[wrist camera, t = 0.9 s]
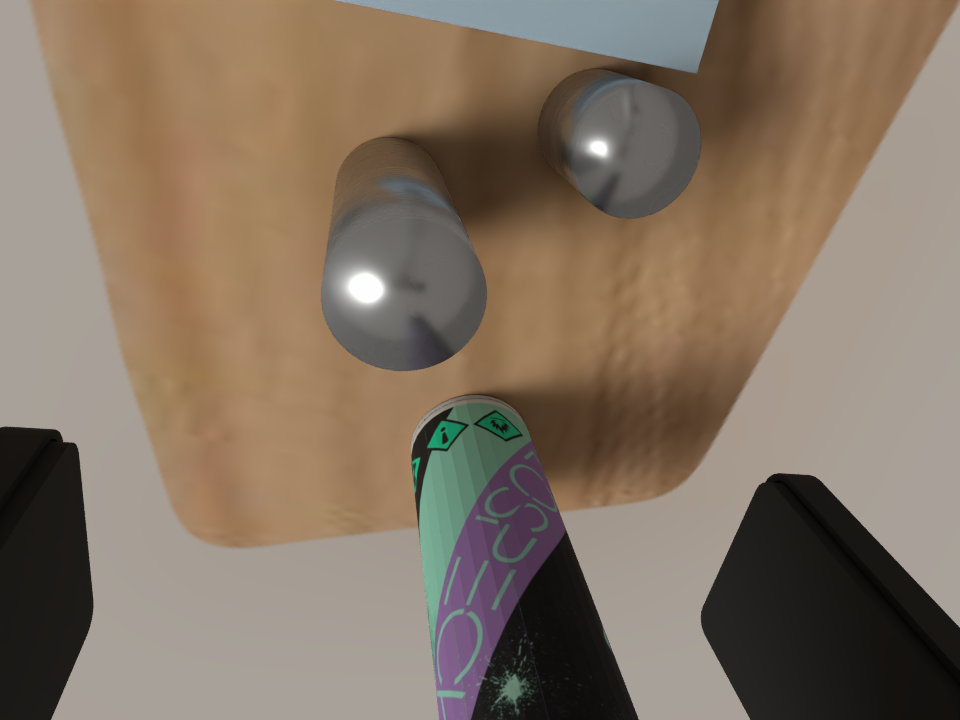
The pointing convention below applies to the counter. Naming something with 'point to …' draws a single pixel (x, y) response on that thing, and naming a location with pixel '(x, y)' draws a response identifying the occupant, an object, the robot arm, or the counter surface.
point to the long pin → (399, 261)
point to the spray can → (504, 577)
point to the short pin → (620, 141)
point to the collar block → (583, 24)
